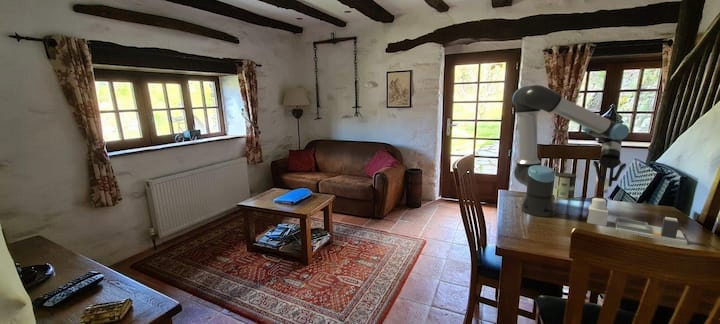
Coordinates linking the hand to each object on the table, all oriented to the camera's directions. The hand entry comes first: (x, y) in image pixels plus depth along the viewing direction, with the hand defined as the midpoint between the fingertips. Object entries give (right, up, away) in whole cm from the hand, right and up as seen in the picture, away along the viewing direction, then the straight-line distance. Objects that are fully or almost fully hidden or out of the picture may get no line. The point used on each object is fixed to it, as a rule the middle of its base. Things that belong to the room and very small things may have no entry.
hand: (605, 191), depth 142 cm
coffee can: (+3, -7, +34) cm, 35 cm away
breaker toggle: (+7, -16, -22) cm, 28 cm away
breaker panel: (+6, -16, -15) cm, 23 cm away
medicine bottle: (-7, -15, -3) cm, 17 cm away
